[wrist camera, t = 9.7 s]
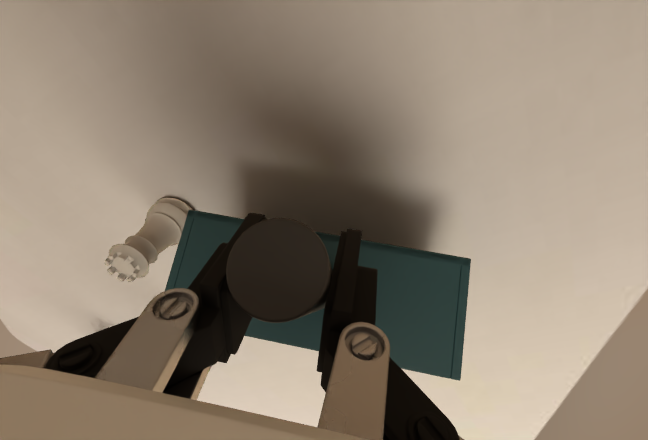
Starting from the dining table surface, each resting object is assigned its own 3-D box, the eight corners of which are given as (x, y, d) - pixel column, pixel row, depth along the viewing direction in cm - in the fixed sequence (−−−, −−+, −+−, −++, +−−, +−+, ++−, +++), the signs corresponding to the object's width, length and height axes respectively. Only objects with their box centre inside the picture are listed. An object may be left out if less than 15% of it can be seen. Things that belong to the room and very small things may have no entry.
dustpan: (239, 240, 31) (221, 311, 29) (20, 107, 10) (-84, 337, 8) (425, 273, 29) (416, 351, 27) (642, 201, 8) (652, 508, 7)
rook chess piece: (190, 243, 33) (139, 300, 26) (150, 218, 32) (87, 271, 26) (207, 213, 31) (155, 267, 24) (164, 186, 30) (98, 234, 23)
